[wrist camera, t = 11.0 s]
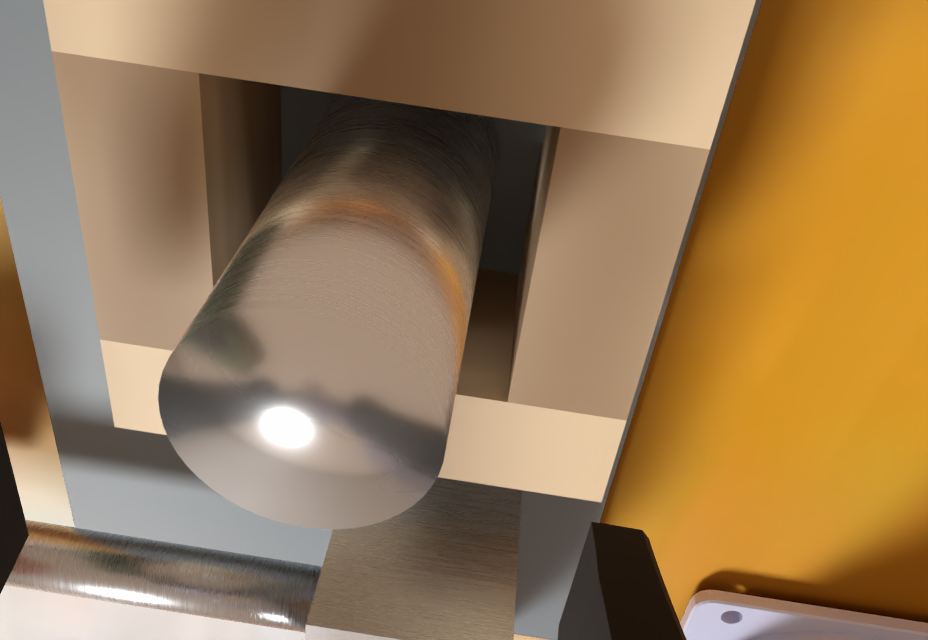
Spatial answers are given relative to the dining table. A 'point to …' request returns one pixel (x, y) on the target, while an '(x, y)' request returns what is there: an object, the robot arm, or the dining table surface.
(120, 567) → the orange grey long bar
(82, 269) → the board
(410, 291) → the peg
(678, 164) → the socket
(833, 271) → the dining table surface
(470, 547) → the block
